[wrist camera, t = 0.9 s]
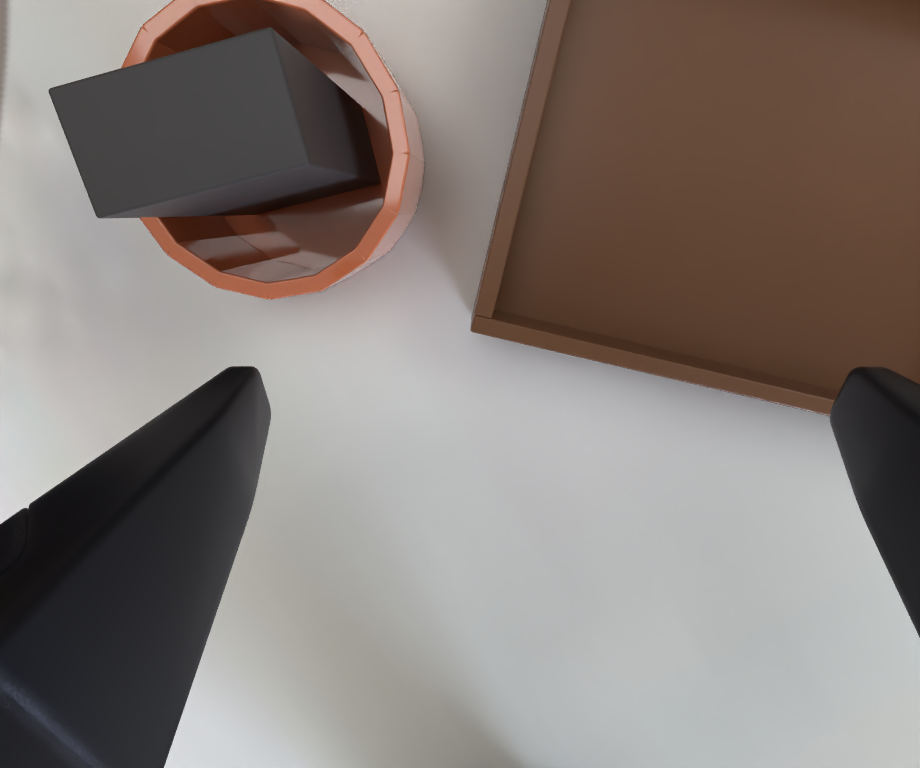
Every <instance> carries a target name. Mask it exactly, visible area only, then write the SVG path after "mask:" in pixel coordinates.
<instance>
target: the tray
mask: <svg viewBox="0 0 920 768" xmlns="http://www.w3.org/2000/svg"><path fill="white" fill-rule="evenodd" d="M471 331H472V332H474V333H479V334H483V335H487V336H491V337H496V338H500V339H504V340H508V341H513V342H517V343H521V344H525V345H530V346H534V347H538V348H542V349H547V350H551V351H555V352H559V353H564V354H568V355H572V356H576V357H581V358H585V359H589V360H593V361H598V362H602V363H606V364H610V365H615V366H619V367H623V368H627V369H632V370H636V371H640V372H644V373H649V374H653V375H657V376H661V377H666V378H670V379H674V380H678V381H683V382H687V383H691V384H695V385H700V386H704V387H708V388H712V389H717V390H721V391H725V392H729V393H734V394H738V395H742V396H746V397H751V398H755V399H759V400H763V401H768V402H772V403H776V404H780V405H785V406H789V407H793V408H797V409H802V410H806V411H810V412H814V413H819V414H823V415H827V416H830V411H831V408H832V405H833V403H834V401H835V399H836V397H837V395H838V393H839V391H840V389H841V387H842V385H843V383H844V381H845V379H846V377H847V375H848V374H849V372H850V371H851V370H853V369H854V368H857V367H885V368H888V369H890V370H892V371H894V372H896V373H898V374H900V375H902V376H904V377H906V378H908V379H910V380H912V381H914V382H916V383H918V384H920V0H547V4H546V9H545V13H544V17H543V21H542V25H541V29H540V34H539V38H538V42H537V46H536V50H535V55H534V59H533V63H532V67H531V71H530V75H529V80H528V84H527V88H526V92H525V96H524V100H523V105H522V109H521V113H520V117H519V121H518V125H517V130H516V134H515V138H514V142H513V146H512V150H511V155H510V159H509V163H508V167H507V171H506V176H505V180H504V184H503V188H502V192H501V196H500V201H499V205H498V209H497V213H496V217H495V221H494V226H493V230H492V234H491V238H490V242H489V246H488V251H487V255H486V259H485V263H484V267H483V271H482V276H481V280H480V284H479V288H478V292H477V297H476V301H475V305H474V309H473V313H472V319H471Z"/></svg>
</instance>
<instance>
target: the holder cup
mask: <svg viewBox="0 0 920 768" xmlns="http://www.w3.org/2000/svg"><path fill="white" fill-rule="evenodd" d="M268 27H270V28H272V29H273V30H275V31H276V32H277V33H278V34H279V35H280V36H282V37H283V38H284V39H285V40H286V41H287V42H288V43H290V44H291V45H292V46H293V47H294V48H295V49H297V50H298V51H299V52H300V53H301V54H302V55H303V56H305V57H306V58H307V59H308V60H309V61H310V62H312V63H313V64H314V65H315V66H316V67H317V68H318V69H320V70H321V71H322V72H323V73H324V74H325V75H327V76H328V77H329V78H330V79H331V80H332V81H333V82H335V83H336V84H337V85H338V86H339V87H340V88H342V89H343V90H344V91H345V92H346V93H347V94H348V95H350V96H351V97H352V98H353V99H354V100H355V101H357V102H358V103H359V104H360V105H361V106H362V109H363V113H364V117H365V121H366V125H367V129H368V133H369V137H370V141H371V145H372V149H373V153H374V157H375V161H376V165H377V169H378V172H379V176H380V180H381V183H380V184H377V185H373V186H369V187H365V188H361V189H357V190H353V191H349V192H345V193H341V194H337V195H333V196H329V197H325V198H321V199H317V200H313V201H309V202H305V203H300V204H296V205H292V206H288V207H284V208H280V209H276V210H272V211H268V212H264V213H260V214H256V215H230V216H184V217H139V218H140V219H141V221H142V222H143V223H144V225H145V226H146V227H147V229H148V230H149V231H150V233H151V234H152V236H153V237H154V238H155V240H156V241H157V242H158V244H159V245H160V246H161V248H162V249H163V250H164V252H165V253H167V255H168V256H170V257H171V258H173V259H174V260H176V261H177V262H179V263H180V264H181V265H183V266H184V267H186V268H187V269H189V270H190V271H192V272H193V273H195V274H196V275H198V276H199V277H201V278H202V279H204V280H205V281H207V282H208V283H210V284H211V285H213V286H215V287H217V288H221V289H225V290H229V291H233V292H238V293H242V294H246V295H251V296H255V297H259V298H263V299H277V298H283V297H289V296H295V295H301V294H308V293H314V292H320V291H322V290H325V289H327V288H329V287H331V286H333V285H335V284H337V283H339V282H341V281H343V280H345V279H347V278H349V277H351V276H353V275H354V274H356V273H358V272H359V271H361V270H362V269H364V268H365V267H367V266H368V265H370V264H372V263H373V262H375V261H376V260H378V259H379V258H381V257H382V256H384V255H385V254H387V253H388V252H389V251H390V250H391V249H392V248H393V246H394V245H395V244H396V242H397V241H398V240H399V238H400V237H401V236H402V234H403V233H404V232H405V230H406V228H407V227H408V225H409V223H410V221H411V220H412V218H413V216H414V215H415V212H416V208H417V205H418V202H419V198H420V194H421V191H422V184H423V177H424V168H425V166H424V165H425V161H424V153H423V144H422V138H421V134H420V130H419V126H418V121H417V116H416V113H415V111H414V110H413V108H412V106H411V105H410V103H409V101H408V100H407V98H406V96H405V94H404V93H403V91H402V89H401V88H400V86H399V84H398V83H397V81H396V79H395V78H394V76H393V74H392V73H391V71H390V69H389V68H388V66H387V65H386V63H385V62H384V60H383V59H382V57H381V56H380V54H379V53H378V51H377V50H376V48H375V47H374V45H373V43H372V42H371V40H370V39H369V37H368V36H367V34H366V33H365V32H364V31H363V30H362V29H361V28H360V27H358V26H357V25H356V24H355V23H353V22H352V21H351V20H349V19H348V18H347V17H346V16H344V15H343V14H342V13H340V12H339V11H338V10H336V9H335V8H334V7H333V6H331V5H330V4H329V3H327V2H326V1H325V0H173V1H172V2H171V3H169V4H168V5H167V6H166V7H164V8H163V9H162V10H161V11H159V12H158V13H157V14H156V15H154V16H153V17H152V18H151V19H149V20H148V21H147V22H146V23H145V24H143V27H141V28H140V30H139V32H138V34H137V36H136V38H135V41H134V43H133V45H132V47H131V49H130V51H129V53H128V55H127V57H126V59H125V61H124V63H123V65H122V67H121V68H125V67H128V66H132V65H135V64H139V63H143V62H146V61H150V60H153V59H157V58H160V57H164V56H168V55H171V54H175V53H178V52H182V51H185V50H189V49H193V48H196V47H200V46H203V45H207V44H211V43H214V42H218V41H221V40H225V39H228V38H232V37H236V36H239V35H243V34H246V33H250V32H253V31H257V30H261V29H264V28H268Z"/></svg>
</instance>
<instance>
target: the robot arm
mask: <svg viewBox="0 0 920 768" xmlns="http://www.w3.org/2000/svg"><path fill="white" fill-rule="evenodd" d="M270 420H271V410H270V405H269V401H268V398H267V395H266V391H265V388H264V385H263V381H262V378H261V375H260V373H259V371H258V369H256V368H255V367H252V366H233V367H228V368H227V369H225V370H224V371H222V372H221V373H219V374H218V375H216V376H215V377H213V378H212V379H211V380H209V381H208V382H206V383H205V384H203V385H202V386H200V387H199V388H198V389H196V390H195V391H193V392H192V393H190V394H189V395H187V396H186V397H184V398H183V399H182V400H180V401H179V402H177V403H176V404H174V405H173V406H171V407H170V408H169V409H167V410H166V411H164V412H163V413H161V414H160V415H158V416H157V417H155V418H154V419H153V420H151V421H150V422H148V423H147V424H145V425H144V426H142V427H141V428H140V429H138V430H137V431H135V432H134V433H132V434H131V435H129V436H128V437H126V438H125V439H124V440H122V441H121V442H119V443H118V444H116V445H115V446H113V447H112V448H111V449H109V450H108V451H106V452H105V453H103V454H102V455H100V456H99V457H97V458H96V459H95V460H93V461H92V462H90V463H89V464H87V465H86V466H84V467H83V468H81V469H80V470H79V471H77V472H76V473H74V474H73V475H71V476H70V477H68V478H67V479H65V480H64V481H63V482H61V483H60V484H58V485H57V486H55V487H54V488H52V489H51V490H49V491H48V492H47V493H45V494H44V495H42V496H41V497H39V498H38V499H36V500H35V501H34V502H32V503H31V504H30V505H29V509H27V508H23V509H22V510H20V511H19V512H17V513H16V514H15V515H13V516H12V517H10V518H9V519H7V520H6V521H4V522H3V523H1V524H0V768H164V766H165V763H166V760H167V757H168V754H169V751H170V748H171V745H172V742H173V739H174V736H175V733H176V730H177V727H178V724H179V721H180V718H181V715H182V712H183V709H184V707H185V704H186V701H187V698H188V695H189V692H190V689H191V686H192V683H193V680H194V677H195V674H196V671H197V668H198V665H199V662H200V659H201V656H202V653H203V650H204V648H205V645H206V642H207V639H208V636H209V633H210V630H211V627H212V624H213V621H214V618H215V615H216V612H217V609H218V606H219V603H220V600H221V597H222V594H223V591H224V589H225V586H226V583H227V580H228V577H229V574H230V571H231V568H232V565H233V562H234V559H235V556H236V553H237V550H238V547H239V544H240V541H241V538H242V535H243V532H244V530H245V527H246V524H247V521H248V518H249V514H250V511H251V508H252V505H253V501H254V497H255V492H256V488H257V483H258V478H259V473H260V468H261V464H262V459H263V454H264V449H265V444H266V440H267V435H268V430H269V425H270ZM830 422H831V426H832V429H833V432H834V435H835V438H836V441H837V444H838V447H839V450H840V453H841V456H842V459H843V462H844V465H845V468H846V471H847V474H848V477H849V480H850V483H851V486H852V489H853V492H854V495H855V497H856V500H857V503H858V505H859V508H860V511H861V513H862V515H863V518H864V520H865V522H866V524H867V527H868V529H869V531H870V533H871V535H872V537H873V539H874V541H875V544H876V546H877V548H878V550H879V552H880V554H881V556H882V558H883V561H884V563H885V565H886V567H887V569H888V571H889V573H890V575H891V578H892V580H893V582H894V584H895V586H896V588H897V590H898V592H899V595H900V597H901V599H902V601H903V603H904V605H905V607H906V609H907V612H908V614H909V616H910V618H911V620H912V622H913V624H914V626H915V629H916V631H917V633H918V635H919V637H920V384H918V383H916V382H914V381H912V380H910V379H908V378H906V377H904V376H902V375H900V374H898V373H896V372H894V371H892V370H890V369H888V368H885V367H857V368H854V369H853V370H851V371H850V372H849V374H848V375H847V377H846V379H845V381H844V383H843V385H842V387H841V389H840V391H839V393H838V395H837V397H836V399H835V401H834V403H833V405H832V408H831V411H830Z"/></svg>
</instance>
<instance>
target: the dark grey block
mask: <svg viewBox="0 0 920 768" xmlns="http://www.w3.org/2000/svg"><path fill="white" fill-rule="evenodd" d="M49 94H50V97H51V99H52V102H53V104H54V107H55V110H56V112H57V115H58V117H59V120H60V123H61V125H62V128H63V130H64V133H65V136H66V138H67V141H68V144H69V146H70V149H71V151H72V154H73V157H74V159H75V162H76V164H77V167H78V170H79V172H80V175H81V177H82V180H83V183H84V185H85V188H86V190H87V193H88V196H89V198H90V201H91V203H92V206H93V209H94V211H95V214H96V216H97V217H98V218H138V217H184V216H230V215H256V214H260V213H264V212H268V211H272V210H276V209H280V208H284V207H288V206H292V205H296V204H300V203H305V202H309V201H313V200H317V199H321V198H325V197H329V196H333V195H337V194H341V193H345V192H349V191H353V190H357V189H361V188H365V187H369V186H373V185H377V184H380V183H381V180H380V176H379V172H378V169H377V165H376V161H375V157H374V153H373V149H372V145H371V141H370V137H369V133H368V129H367V125H366V121H365V117H364V113H363V109H362V106H361V105H360V104H359V103H358V102H357V101H355V100H354V99H353V98H352V97H351V96H350V95H348V94H347V93H346V92H345V91H344V90H343V89H342V88H340V87H339V86H338V85H337V84H336V83H335V82H333V81H332V80H331V79H330V78H329V77H328V76H327V75H325V74H324V73H323V72H322V71H321V70H320V69H318V68H317V67H316V66H315V65H314V64H313V63H312V62H310V61H309V60H308V59H307V58H306V57H305V56H303V55H302V54H301V53H300V52H299V51H298V50H297V49H295V48H294V47H293V46H292V45H291V44H290V43H288V42H287V41H286V40H285V39H284V38H283V37H282V36H280V35H279V34H278V33H277V32H276V31H275V30H273V29H272V28H270V27H268V28H264V29H261V30H257V31H253V32H250V33H246V34H243V35H239V36H236V37H232V38H228V39H225V40H221V41H218V42H214V43H211V44H207V45H203V46H200V47H196V48H193V49H189V50H185V51H182V52H178V53H175V54H171V55H168V56H164V57H160V58H157V59H153V60H150V61H146V62H143V63H139V64H135V65H132V66H128V67H125V68H121V69H118V70H114V71H110V72H107V73H103V74H100V75H96V76H92V77H89V78H85V79H82V80H78V81H75V82H71V83H67V84H64V85H60V86H57V87H53V88H50V89H49Z"/></svg>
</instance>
